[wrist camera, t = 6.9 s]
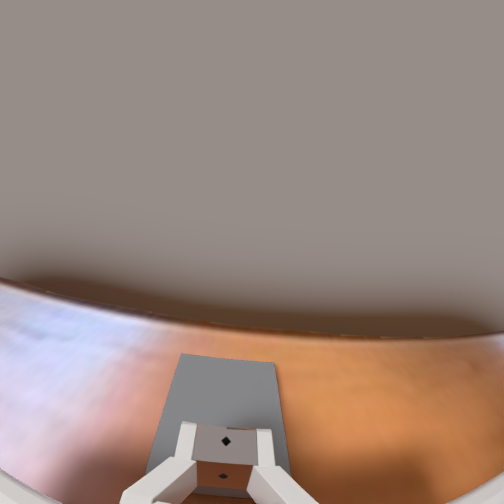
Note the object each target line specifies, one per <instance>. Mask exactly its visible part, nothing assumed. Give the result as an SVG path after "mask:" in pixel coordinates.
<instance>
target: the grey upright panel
mask: <svg viewBox="0 0 504 504" xmlns="http://www.w3.org/2000/svg"><path fill="white" fill-rule="evenodd" d="M183 421H186V422H192V423H199V424H206V425H213V426H221V427H238V428H255V429H271V431H272V438H273V447H274V456H275V465H276V466H281V468H282V469H283V470H284V471H285V472H286V473H287V474H288V475H289V476H290V477H291V472H290V465H289V458H288V451H287V445H286V438H285V431H284V425H283V418H282V411H281V405H280V398H279V392H278V385H277V379H276V372H275V366H274V363H272V362H257V361H244V360H233V359H223V358H214V357H206V356H198V355H190V354H183V353H181V355H180V358H179V362H178V365H177V368H176V371H175V374H174V377H173V380H172V383H171V387H170V390H169V393H168V396H167V399H166V403H165V406H164V409H163V412H162V416H161V419H160V422H159V426H158V429H157V433H156V436H155V439H154V443H153V446H152V450H151V453H150V457H149V460H148V464H147V467H146V471H145V475H147V474H148V473H149V472H151V471H152V470H153V469H155V468H156V467H157V466H159V465H160V464H161V463H162V462H164V461H165V460H166V459H168V458H169V457H174V456H175V451H176V447H177V442H178V437H179V432H180V428H181V424H182V422H183ZM191 493H197V494H205V495H214V496H226V497H242V498H252V497H251V496H250V494H249V493H248V492H247V489H235V488H224V487H211V486H200V485H197V487H196V488H195V489H194V490H193V491H192V492H191Z"/></svg>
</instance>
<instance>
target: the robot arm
mask: <svg viewBox="0 0 504 504" xmlns="http://www.w3.org/2000/svg"><path fill="white" fill-rule="evenodd" d="M197 485H200V486H211V487H224V488H235V489H247V492H248V493H249V494H250V496H251V497H252V498H253V500H254V501H255V502H256V504H319V503H318V502H317V501H315V500H314V499H313V498H312V497H311V496H310V495H309V494H308V493H307V492H306V491H305V490H304V489H303V488H302V487H301V486H299V485H298V484H297V483H296V482H295V481H294V480H293V479H292V478H291V477H290V476H289V475H288V474H287V473H286V472H285V471H284V470H283V469H282V468H281V466H276V465H275V456H274V447H273V438H272V431H271V429H255V428H238V427H221V426H213V425H206V424H199V423H192V422H186V421H183V422H182V424H181V428H180V432H179V437H178V442H177V447H176V451H175V456H174V457H169V458H168V459H166V460H165V461H164V462H162V463H161V464H160V465H159V466H157V467H156V468H155V469H153V470H152V471H151V472H149V473H148V474H147V475H145V476H144V477H143V478H141V479H140V480H139V481H137V482H136V483H134V484H133V485H132V486H130V487H129V488H127V489H126V490H125V491H123V494H122V497H121V500H120V504H181V503H182V502H183V501H184V500H185V499H186V497H187V496H188V495H189V494H190V493H191V492H192V491H193V490H194V489H195V488H196V487H197ZM0 504H63V503H61V502H59V501H57V500H54V499H52V498H50V497H48V496H46V495H44V494H43V493H41V492H39V491H37V490H35V489H33V488H31V487H30V486H28V485H26V484H24V483H23V482H21V481H19V480H18V479H16V478H14V477H13V476H11V475H10V474H8V473H7V472H5V471H4V470H2V469H1V468H0ZM445 504H504V471H503V472H501V473H500V474H498V475H497V476H495V477H494V478H492V479H490V480H489V481H487V482H485V483H484V484H482V485H480V486H478V487H477V488H475V489H473V490H471V491H469V492H467V493H466V494H464V495H462V496H460V497H458V498H456V499H454V500H452V501H450V502H447V503H445Z"/></svg>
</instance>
